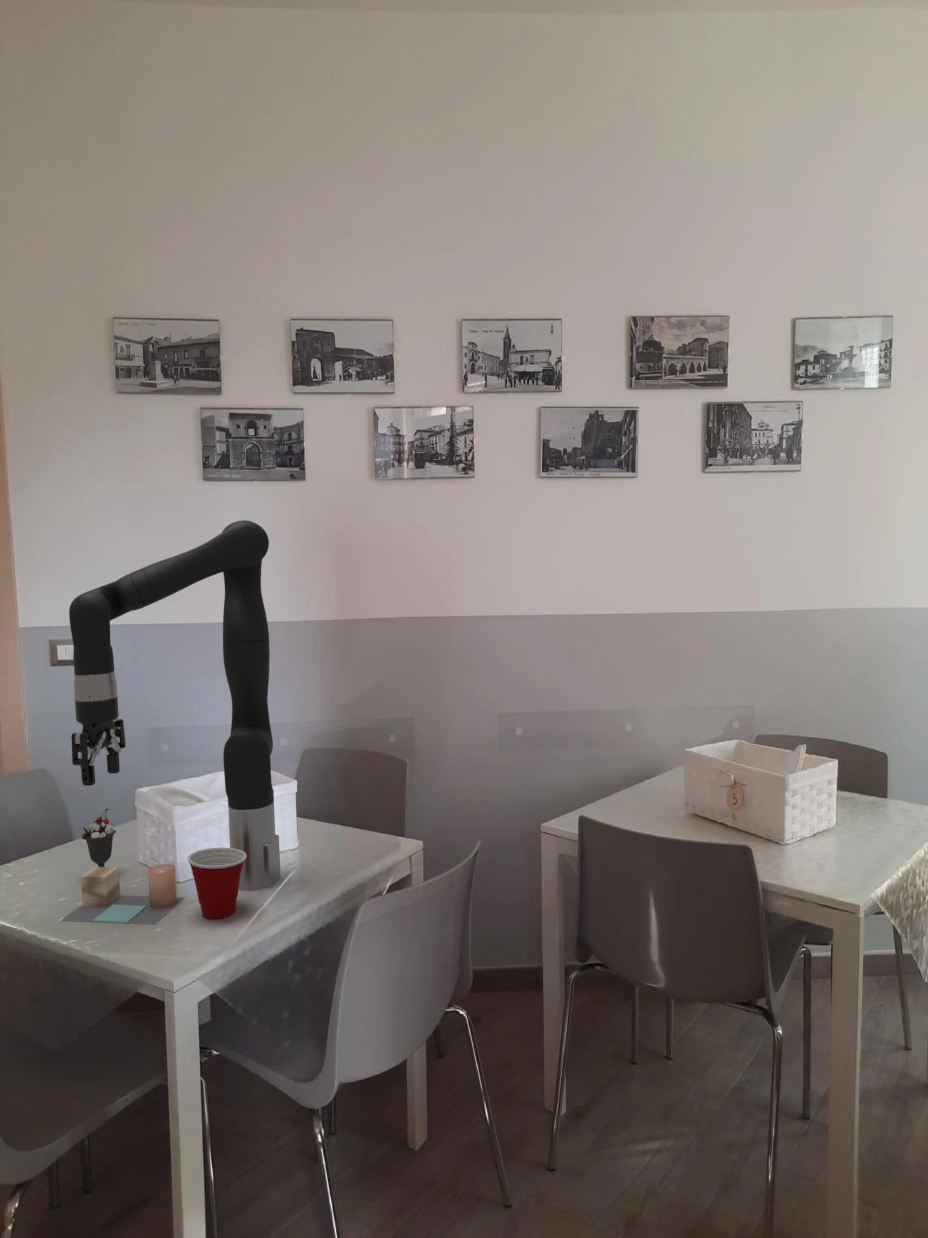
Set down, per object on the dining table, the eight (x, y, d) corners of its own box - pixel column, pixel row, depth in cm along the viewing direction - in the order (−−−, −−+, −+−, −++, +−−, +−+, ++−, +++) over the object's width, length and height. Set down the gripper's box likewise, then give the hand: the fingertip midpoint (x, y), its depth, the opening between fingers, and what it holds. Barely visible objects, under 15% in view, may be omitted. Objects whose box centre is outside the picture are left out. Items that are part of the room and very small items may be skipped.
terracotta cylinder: (181, 898, 167) (179, 864, 166) (169, 909, 162) (167, 874, 161) (157, 897, 167) (155, 863, 167) (145, 908, 162) (143, 873, 162)
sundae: (125, 873, 182) (121, 806, 181) (108, 886, 175) (104, 816, 174) (96, 873, 183) (92, 806, 181) (79, 885, 176) (74, 815, 175)
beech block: (120, 896, 168) (118, 867, 168) (106, 907, 163) (104, 877, 163) (96, 895, 169) (95, 867, 169) (82, 906, 164) (80, 876, 164)
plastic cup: (256, 919, 158) (253, 857, 157) (197, 933, 153) (194, 869, 152) (241, 899, 167) (238, 840, 166) (185, 911, 162) (182, 851, 161)
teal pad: (146, 907, 163) (146, 906, 163) (127, 923, 156) (127, 922, 156) (112, 906, 164) (112, 904, 164) (92, 922, 157) (92, 920, 157)
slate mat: (185, 900, 167) (184, 897, 167) (155, 927, 155) (155, 924, 155) (96, 897, 170) (96, 894, 170) (60, 924, 158) (60, 921, 158)
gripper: (93, 703, 153) (99, 789, 155) (133, 689, 167) (139, 769, 169) (55, 703, 154) (61, 789, 156) (99, 689, 168) (104, 769, 170)
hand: (101, 778), depth 162 cm, fingers open, 8 cm apart
